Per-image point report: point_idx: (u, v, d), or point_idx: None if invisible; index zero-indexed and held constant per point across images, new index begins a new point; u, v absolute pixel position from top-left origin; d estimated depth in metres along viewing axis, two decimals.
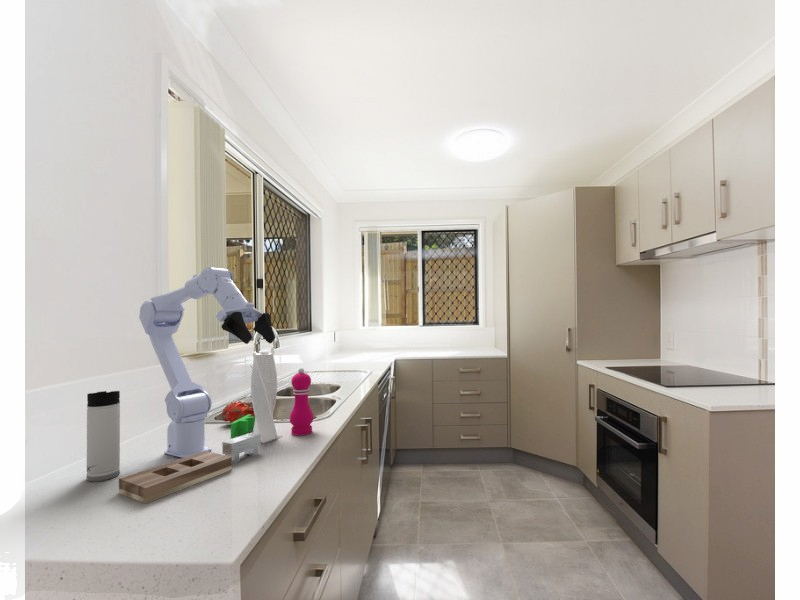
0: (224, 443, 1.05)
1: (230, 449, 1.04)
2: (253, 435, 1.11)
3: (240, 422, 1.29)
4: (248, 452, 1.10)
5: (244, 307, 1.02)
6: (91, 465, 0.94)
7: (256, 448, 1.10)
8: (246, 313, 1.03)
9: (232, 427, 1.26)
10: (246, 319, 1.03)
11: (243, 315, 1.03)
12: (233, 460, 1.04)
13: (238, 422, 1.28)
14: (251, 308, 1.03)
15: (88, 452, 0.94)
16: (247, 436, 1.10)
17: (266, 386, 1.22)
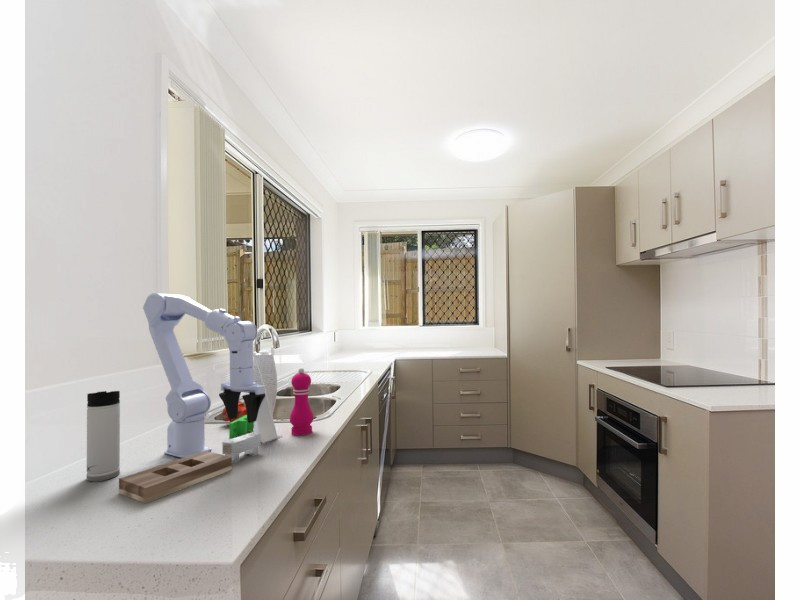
0: (224, 443, 1.05)
1: (230, 449, 1.04)
2: (253, 435, 1.11)
3: (239, 422, 1.29)
4: (248, 452, 1.10)
5: None
6: (91, 465, 0.94)
7: (256, 448, 1.10)
8: None
9: (231, 427, 1.26)
10: None
11: None
12: (233, 460, 1.04)
13: (237, 422, 1.28)
14: None
15: (88, 452, 0.94)
16: (247, 436, 1.10)
17: (266, 386, 1.22)
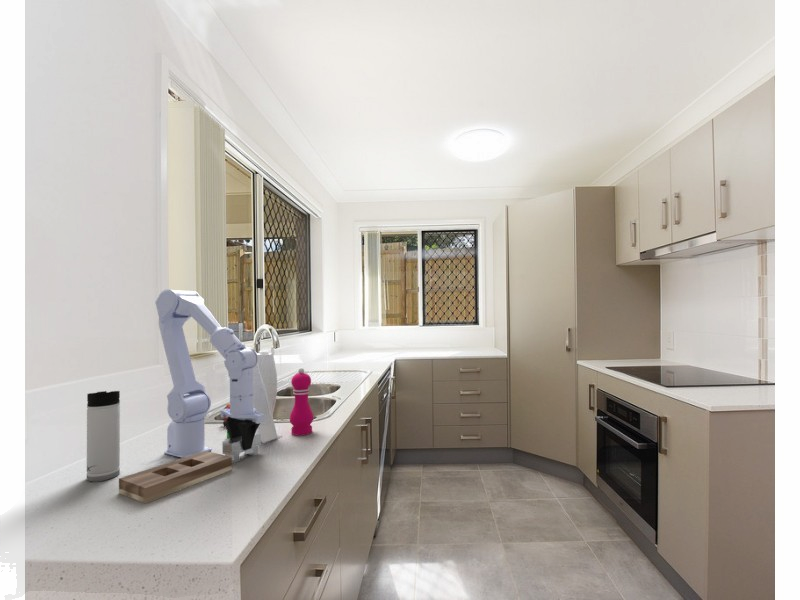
0: (224, 443, 1.05)
1: (230, 449, 1.04)
2: None
3: None
4: (248, 452, 1.10)
5: None
6: (91, 465, 0.94)
7: (256, 448, 1.10)
8: None
9: None
10: None
11: None
12: (233, 460, 1.04)
13: None
14: None
15: (88, 452, 0.94)
16: None
17: (266, 386, 1.22)
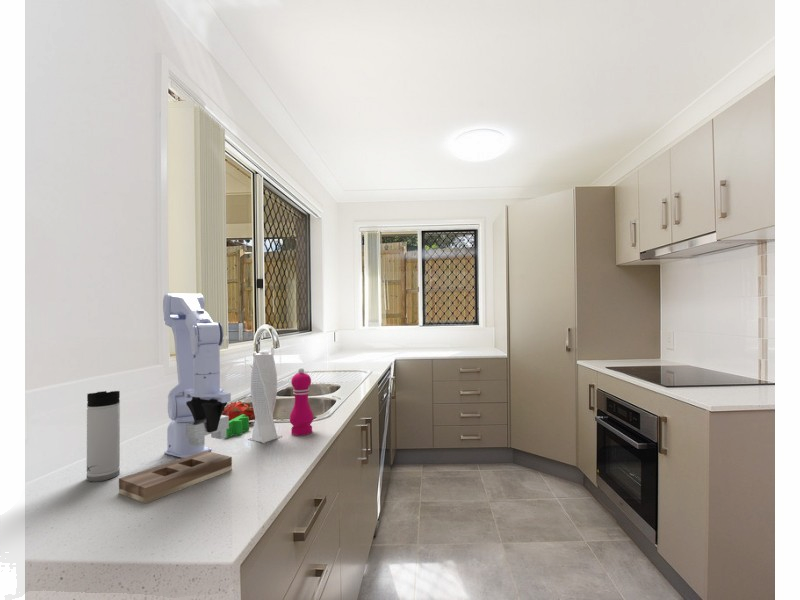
0: (187, 425, 0.97)
1: (194, 431, 0.95)
2: (220, 417, 1.02)
3: (234, 422, 1.29)
4: (215, 435, 1.02)
5: None
6: (91, 465, 0.94)
7: (224, 431, 1.02)
8: None
9: None
10: None
11: None
12: (197, 443, 0.96)
13: (232, 422, 1.28)
14: None
15: (88, 452, 0.94)
16: None
17: (266, 386, 1.22)
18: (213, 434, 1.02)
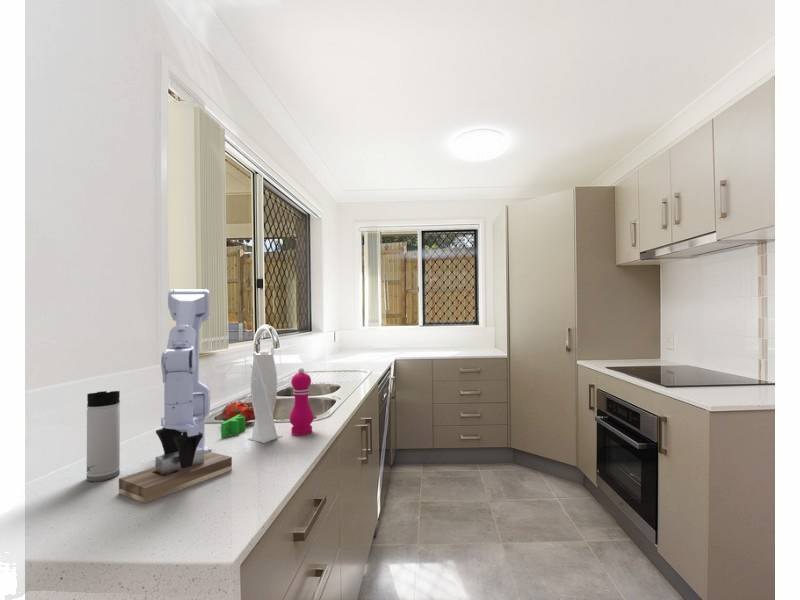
0: (156, 459, 0.91)
1: (161, 467, 0.90)
2: None
3: (230, 422, 1.29)
4: None
5: None
6: (91, 465, 0.94)
7: None
8: None
9: (223, 427, 1.26)
10: None
11: None
12: None
13: (228, 422, 1.28)
14: None
15: (88, 452, 0.94)
16: None
17: (266, 386, 1.22)
18: None
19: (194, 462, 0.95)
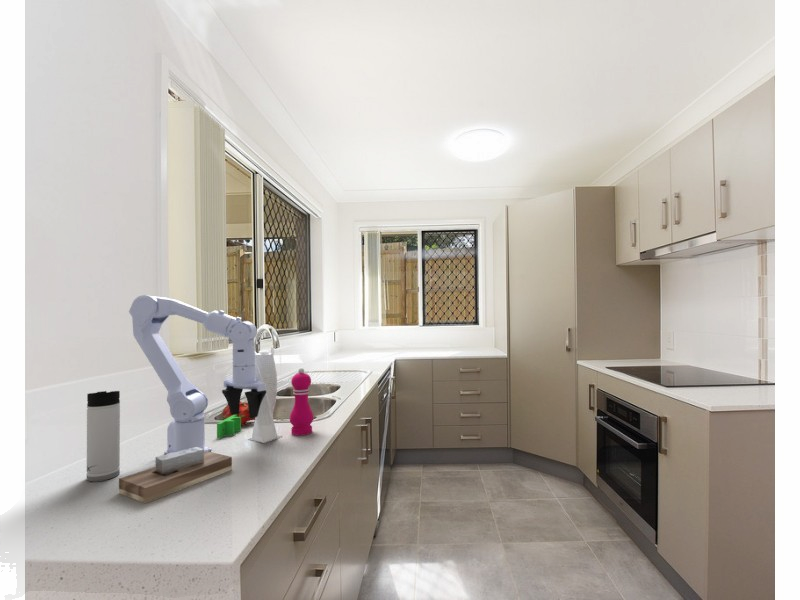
0: (156, 459, 0.91)
1: (161, 467, 0.90)
2: (195, 450, 0.96)
3: (226, 422, 1.29)
4: None
5: None
6: (91, 465, 0.94)
7: None
8: None
9: (218, 427, 1.26)
10: None
11: None
12: None
13: (224, 422, 1.28)
14: None
15: (88, 452, 0.94)
16: (187, 451, 0.95)
17: (266, 386, 1.22)
18: None
19: (194, 462, 0.95)
